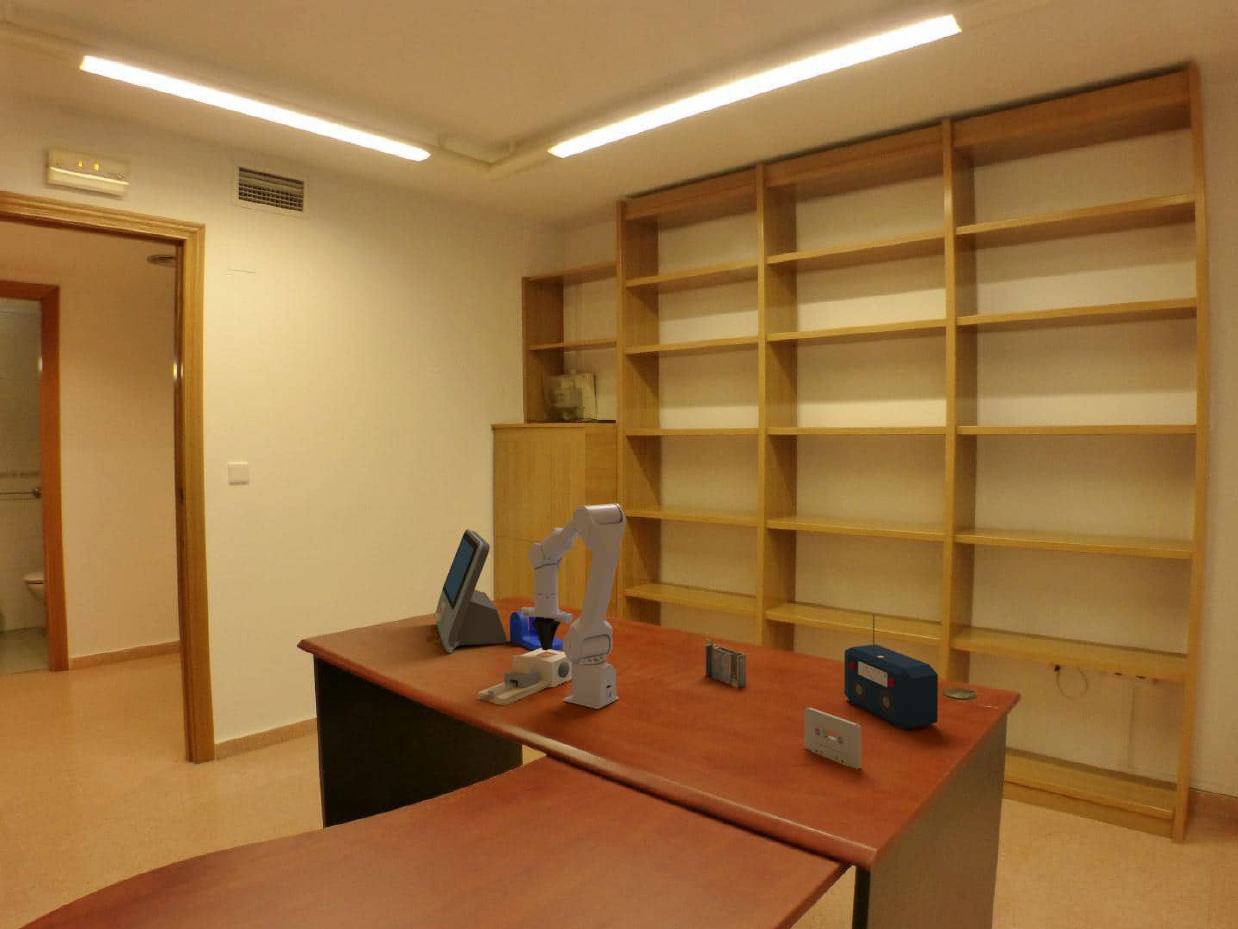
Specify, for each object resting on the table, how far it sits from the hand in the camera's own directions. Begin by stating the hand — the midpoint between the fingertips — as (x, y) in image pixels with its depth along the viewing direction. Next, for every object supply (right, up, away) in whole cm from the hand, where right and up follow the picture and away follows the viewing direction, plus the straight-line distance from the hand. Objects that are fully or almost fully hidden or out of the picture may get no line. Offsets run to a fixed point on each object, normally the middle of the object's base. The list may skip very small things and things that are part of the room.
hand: (546, 649), depth 186 cm
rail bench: (-7, -8, -9) cm, 14 cm away
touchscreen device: (-27, -6, +42) cm, 50 cm away
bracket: (-5, -7, +31) cm, 32 cm away
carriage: (-5, -6, -7) cm, 11 cm away
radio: (+73, -8, -24) cm, 78 cm away
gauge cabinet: (0, -7, 0) cm, 7 cm away
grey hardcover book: (+43, -8, -1) cm, 43 cm away
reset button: (0, -4, 0) cm, 3 cm away
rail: (-7, -6, -9) cm, 13 cm away
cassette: (+56, -9, -46) cm, 73 cm away
